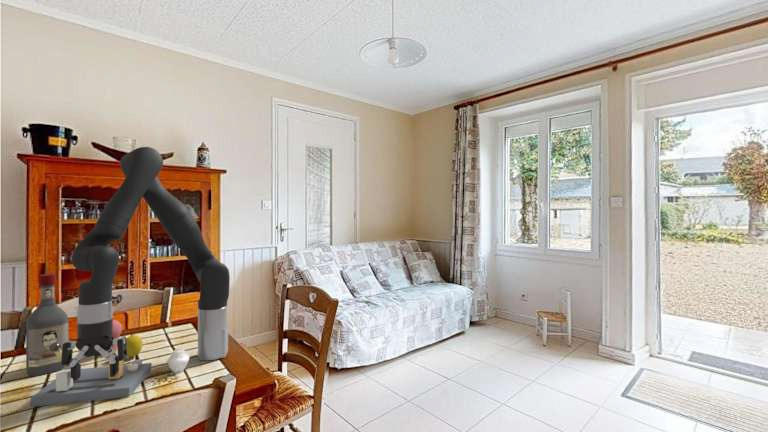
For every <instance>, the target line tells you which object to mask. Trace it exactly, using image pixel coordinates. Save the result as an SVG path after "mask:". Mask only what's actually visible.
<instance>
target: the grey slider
mask: <svg viewBox="0 0 768 432" xmlns="http://www.w3.org/2000/svg"><path fill="white" fill-rule="evenodd" d="M55 379H56V391H66V390H68V389H69V388H70V387H72V386H73V378H72V379H71V369H67V370H64V369H62V370H60V371H58V373H56V374H55Z"/></svg>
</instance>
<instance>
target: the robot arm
mask: <svg viewBox="0 0 768 432" xmlns="http://www.w3.org/2000/svg"><path fill="white" fill-rule="evenodd" d="M119 167H120V169H121V171H122V173H123V175H124V176H125V178H124V180H123V181H122V183H121V185H120V187H118V189H117V190H116V191H115V193H114V195H113V196H112V197H111V198H110V199H109V200H108V202H107V203H106V205H105V207H104V208H103V209H102V211H101V213H100V216H99V217H98V219H97V220H96V223H95V225H94V227H93V228H92V229H91V230H90V231H89V232H88V233H87V234H86V235H85V236H84V238H83V239H82V240H81V241H79V243H78V244H77V246H76V247H75V248H74V250H73V252H72V255H71V264H72V265H73V267H74V268H75V269H76V270H79V271H82V272H84V271H85V272H91V273H92V274H91V277H90V279H89V280H88V279H87V280H85V281H83V282H81V283H80V284H79V286H78V307H77V310H76V311H77V312H76V313H77V315H76V320H77V321H76V328H77V330H76V337H77V340H76V341H75V340H73V339H68V341H67V342H65V343H64V344H63V346H62V359H61V365H63V366H64V365H68V366H70V368H71V379H72V378H73V381H75V380H78V379H79V378H80V376H81V369H82V363H81V361H82V360H83V359H84V358H85V357H86V358H91V357H101V356H102V357H103V358H104V359H107V361H109V363H110V362H111V364H110V377H114V376H115V375H116V374H117V373H118V372H119V361H122V360H123V361H124V359H126V357H128V356H127V342H126V338H127V337H126V336H125V335H123V336H121V337H119V338H117V339H114V338H113V336H112V334H113V320H114V307H113V287H112V286H113V284H114V280H115V277H116V274H117V270H118V268H119V264H120V257H119V256H120V255H119V253H118V250H116V248H115V247H113V246H110V244H111V243H113V242H117V241H120V240H121V239H122V238H123V237H124V235H125V233H126V231H127V229H128V227H129V224H130V222H131V220H132V218H133V216H134V214H135V212H136V210H137V208H138V206H139V205H140V202H141V200H142V199H144V200H145V202H146V203H147V205H148V207H149V208H150V210H151V211H152V212H153V215H154V216H155V217H156V218H157V220H158V221H159V223H160V226H161V227H162V228H163V230H164V231H165V232H166V233H167V235H168V236H169V238H170V239H171V241H172V242H173V243H174V245H176V246H177V248H178V249H179V250H180V251H181V252H182V254H183V255H184V256H185V258H186V259H187V261H188V263H189V264H190V267H192V268H191V269H192V270H193V272H194V275H195V276H196V278H197V280H198V282H199V283H200V284H199V285H200V286H199V287H200V289H199V290H200V291H199V292H200V293H199V298H198V301H197V359H198V360H201V361H214V360H218V359H223V358H226V356H227V355H228V352H229V325H228V300H229V297H230V280H231V279H230V276H231V275H230V271H229V268H228V267H227V265H226V264H224V263H223V262H220V261H219V260H218V258H216V257H215V255H214V254H213V253H212V252H211V250H210V249H209V248H208V246H207V244H206V242H205V240H204V237H203V234H202V232H201V229H200V226H199V224H198V223H197V221H196V219H195V218H194V216H193V214H192V213H191V212H190V210H189V208H188V207H187V206H186V205H185V204H184V203H183V202H182V201H181V200H179V199H178V198H176V196H174V195H172V193H170V192H169V191H168V190H166V188H165V187H164V186H163V184H162V183H161V181H160V179H159V178H158V177H157V176H158V175H159V174H160V172H162V171H161V170H162V169H163V167H164V160H163V157H162V155H161V154H160V152H159V151H158V150H157V149H155V148H153V147H149V146H141V147H137V148H134V149H133V150H131V151H129V152H128V153H126V154H124V155H123V156H122V157H121V158H120V162H119ZM113 343H114V344H115V345H116V346H117V351H116V352H115V350H114V349H113V348H112V347H111V346H112V344H113ZM75 348H76V349H77V350H78V351H79V352H78V353H77V354H76V355H75V357H74V358H73V354H74V353H73V352H74V351H73V350H74V349H75ZM107 351H108V352H107ZM79 363H81V364H79Z"/></svg>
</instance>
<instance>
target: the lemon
mask: <svg viewBox="0 0 768 432" xmlns="http://www.w3.org/2000/svg"><path fill="white" fill-rule="evenodd" d="M126 342H127V357H130V358H134V357H135V356H137V355H139V354H140V352H141V351H142V350H143V340H142V338H141V337H140V336H139V335H138V334H137V335H136V334H135V333H133V334H131V335H129V336H128V337H126Z"/></svg>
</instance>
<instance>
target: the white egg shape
mask: <svg viewBox="0 0 768 432" xmlns="http://www.w3.org/2000/svg"><path fill="white" fill-rule="evenodd" d="M189 360H190V356H189V354H187V353H186V351H185V349H184V348H176V349H174V350H173V351H172V352H171V354H170V356H169V357H168V359H166V363H167V365H168V367H169V369H170V370H171V372H172V373H181V372H183V371H185V368H186V367H187V365H188V363H189Z"/></svg>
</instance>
